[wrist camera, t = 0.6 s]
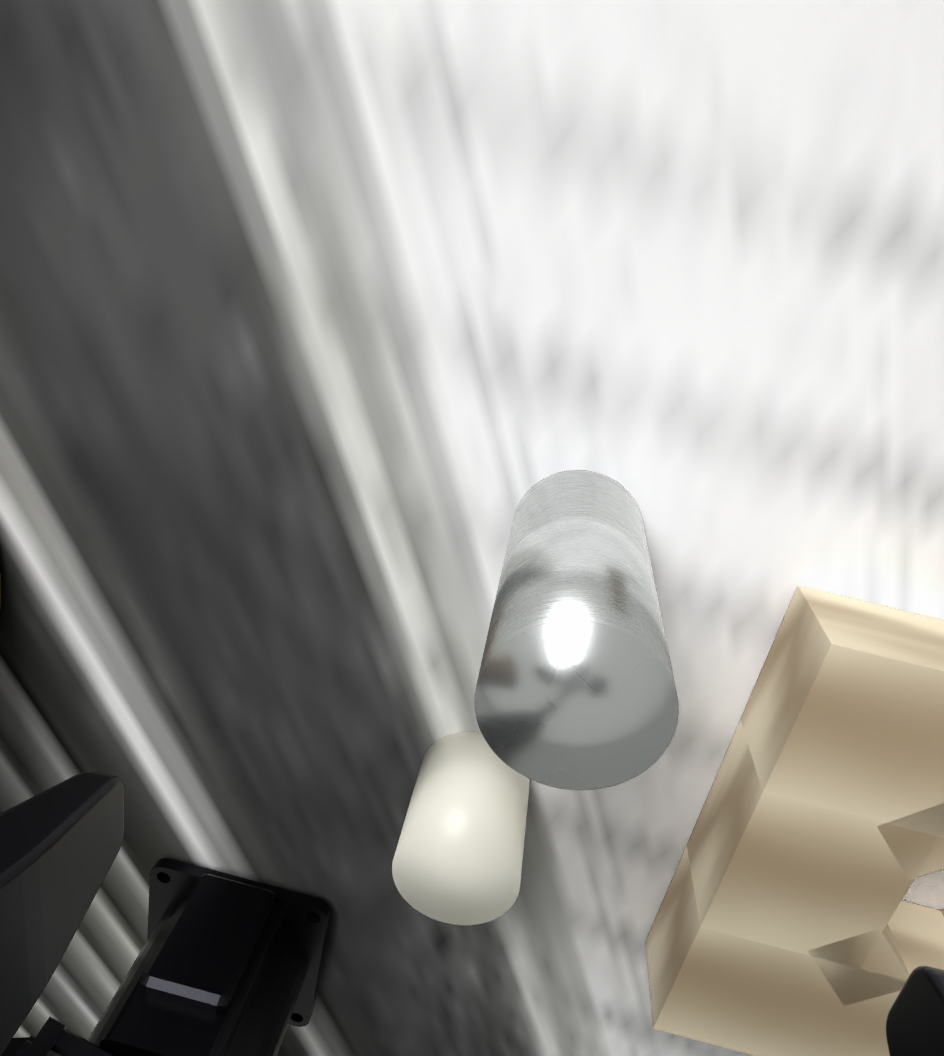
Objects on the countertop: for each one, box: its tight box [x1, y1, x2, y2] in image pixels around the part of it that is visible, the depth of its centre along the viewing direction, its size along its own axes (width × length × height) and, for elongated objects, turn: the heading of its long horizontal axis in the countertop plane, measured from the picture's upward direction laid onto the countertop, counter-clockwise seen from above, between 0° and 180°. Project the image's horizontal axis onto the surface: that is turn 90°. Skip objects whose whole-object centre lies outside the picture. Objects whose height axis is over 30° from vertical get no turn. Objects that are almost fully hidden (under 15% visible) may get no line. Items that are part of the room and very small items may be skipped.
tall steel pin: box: [475, 470, 678, 790], centre depth 17 cm, size 4×4×8 cm
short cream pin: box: [392, 732, 530, 925], centre depth 22 cm, size 4×4×4 cm
